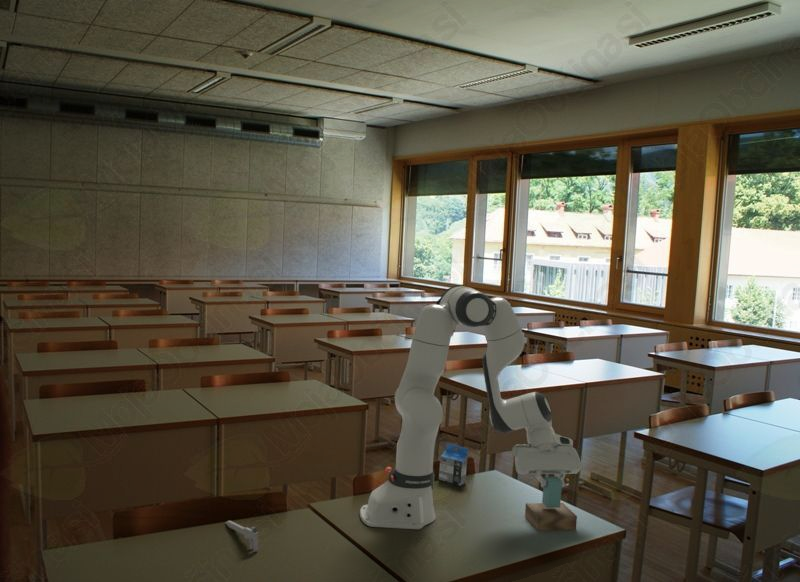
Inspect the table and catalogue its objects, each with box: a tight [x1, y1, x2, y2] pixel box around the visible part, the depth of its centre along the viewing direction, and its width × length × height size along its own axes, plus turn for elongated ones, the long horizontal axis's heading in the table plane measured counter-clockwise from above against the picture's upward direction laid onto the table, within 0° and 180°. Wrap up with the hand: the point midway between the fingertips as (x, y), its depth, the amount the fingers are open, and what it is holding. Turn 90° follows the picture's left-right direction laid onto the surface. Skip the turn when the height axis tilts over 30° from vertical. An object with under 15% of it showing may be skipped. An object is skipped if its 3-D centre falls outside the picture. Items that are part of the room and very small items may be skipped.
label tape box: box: [438, 442, 468, 486], centre depth 233 cm, size 9×4×12 cm, turn 55°
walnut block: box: [524, 502, 578, 531], centre depth 203 cm, size 12×10×4 cm
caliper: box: [224, 520, 259, 553], centre depth 182 cm, size 20×1×6 cm, turn 35°
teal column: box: [541, 476, 563, 508], centre depth 202 cm, size 4×4×8 cm
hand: (553, 486), depth 201 cm, fingers closed on teal column, 4 cm apart
